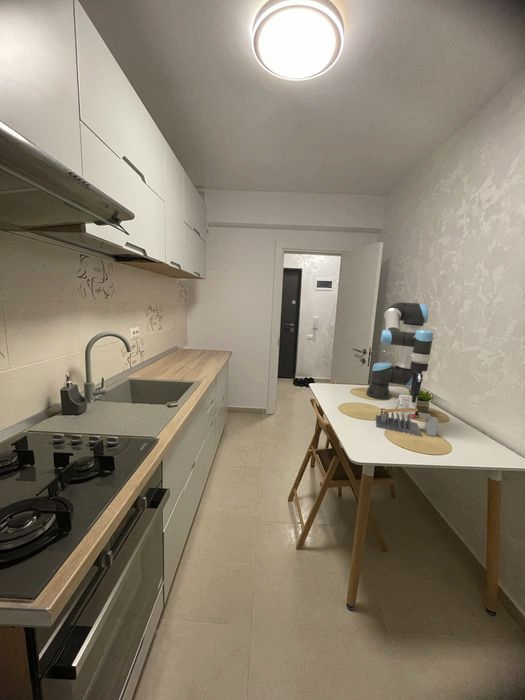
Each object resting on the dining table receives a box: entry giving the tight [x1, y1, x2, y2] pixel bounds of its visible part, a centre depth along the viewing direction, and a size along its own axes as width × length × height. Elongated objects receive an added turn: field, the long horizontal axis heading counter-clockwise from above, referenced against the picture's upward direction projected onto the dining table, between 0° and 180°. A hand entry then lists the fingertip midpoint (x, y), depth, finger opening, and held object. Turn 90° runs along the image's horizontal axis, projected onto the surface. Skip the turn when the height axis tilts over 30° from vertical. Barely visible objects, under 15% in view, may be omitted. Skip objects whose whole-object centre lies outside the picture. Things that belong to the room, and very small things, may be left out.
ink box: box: [395, 394, 418, 419], centre depth 161 cm, size 9×5×12 cm, turn 84°
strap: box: [382, 407, 419, 414], centre depth 144 cm, size 4×16×2 cm, turn 69°
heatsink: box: [375, 407, 422, 437], centre depth 144 cm, size 12×20×7 cm, turn 69°
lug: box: [418, 411, 439, 437], centre depth 140 cm, size 5×8×9 cm, turn 69°
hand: (412, 407), depth 141 cm, fingers closed
